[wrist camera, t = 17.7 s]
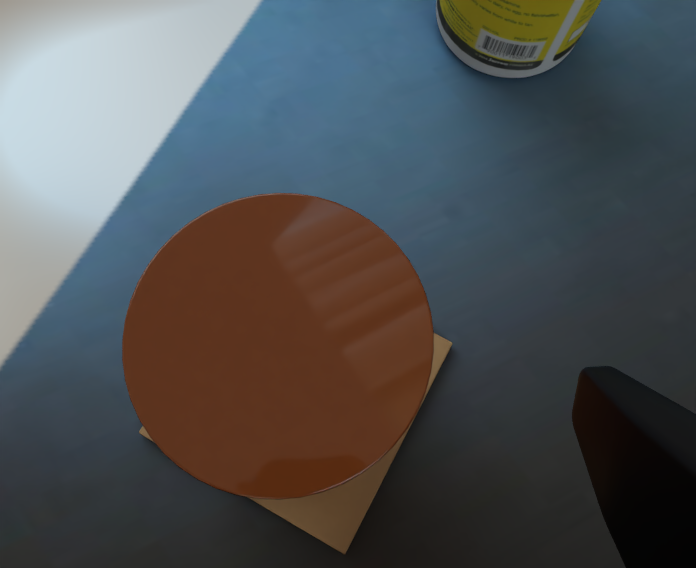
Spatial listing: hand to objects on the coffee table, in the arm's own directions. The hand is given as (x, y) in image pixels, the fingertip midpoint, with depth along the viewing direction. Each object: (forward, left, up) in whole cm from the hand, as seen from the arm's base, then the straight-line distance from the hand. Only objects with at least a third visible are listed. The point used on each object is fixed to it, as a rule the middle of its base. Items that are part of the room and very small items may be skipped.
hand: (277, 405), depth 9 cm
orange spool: (+2, -1, -13) cm, 13 cm away
